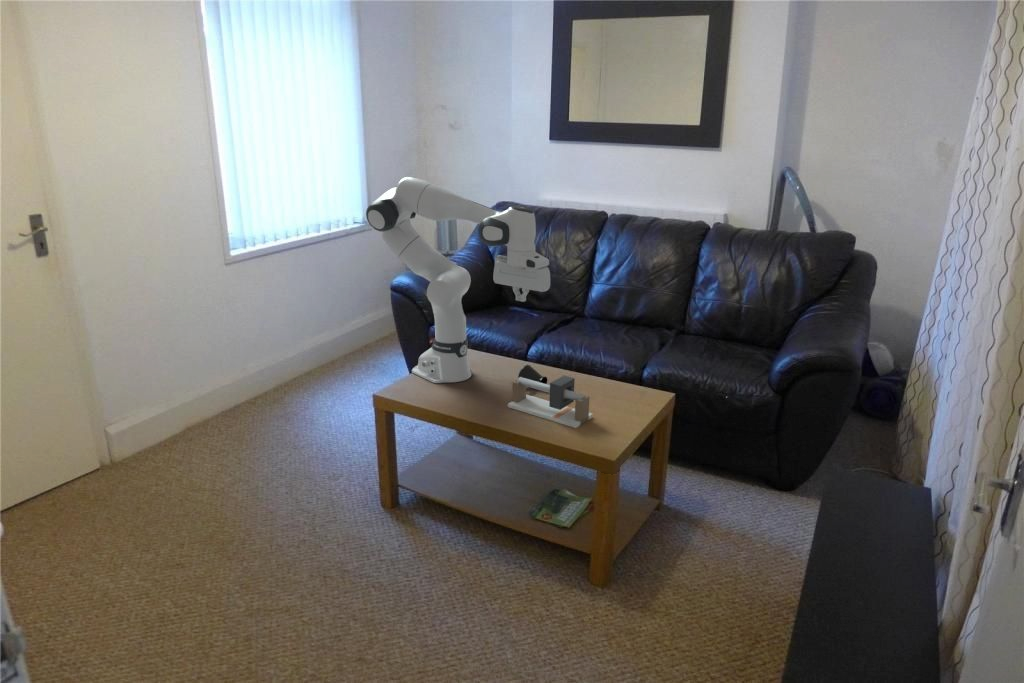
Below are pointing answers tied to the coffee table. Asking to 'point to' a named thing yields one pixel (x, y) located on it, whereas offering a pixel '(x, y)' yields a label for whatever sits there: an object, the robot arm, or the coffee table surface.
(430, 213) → the robot arm
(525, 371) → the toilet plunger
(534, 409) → the rail
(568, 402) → the collar
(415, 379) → the coffee table surface
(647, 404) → the coffee table surface
